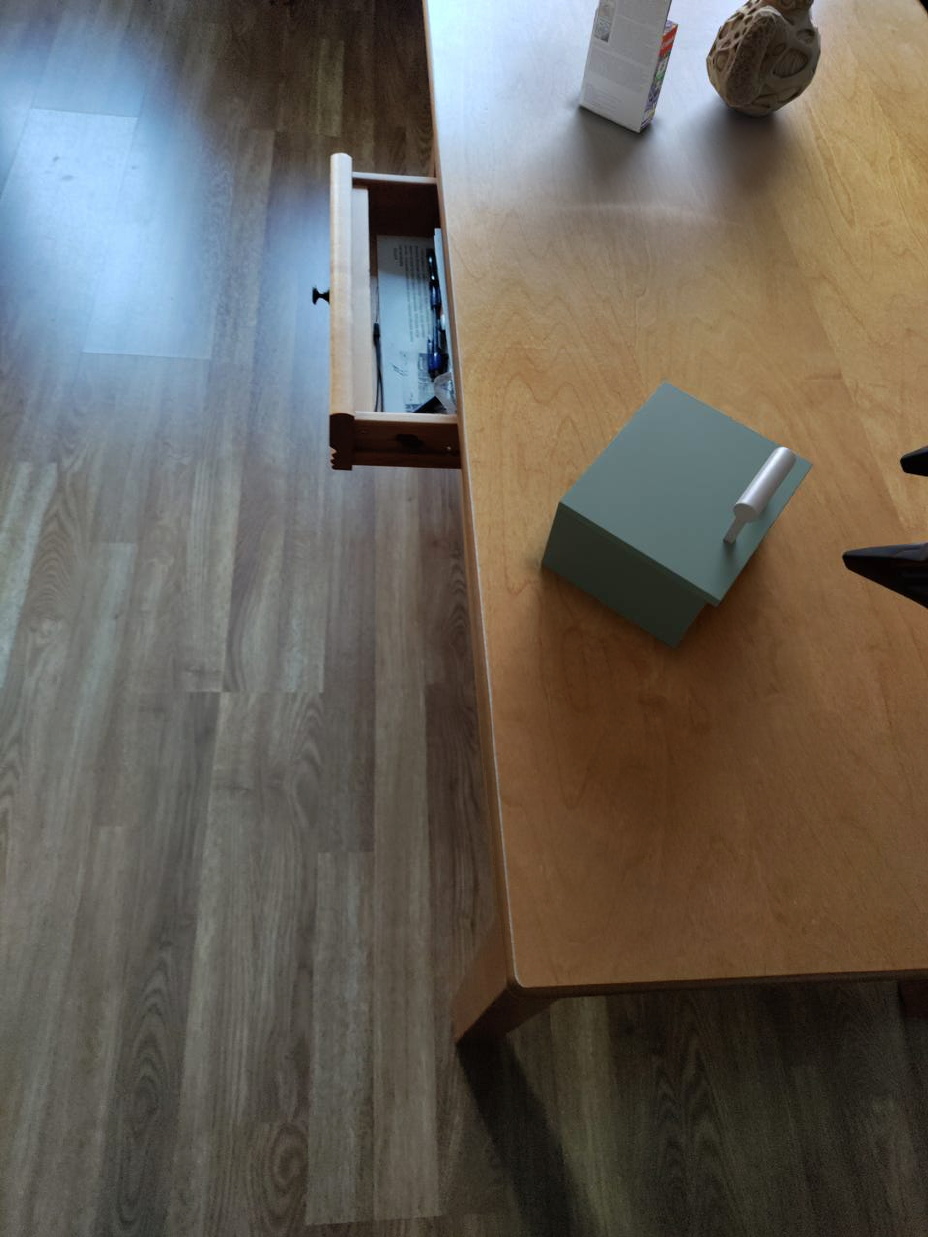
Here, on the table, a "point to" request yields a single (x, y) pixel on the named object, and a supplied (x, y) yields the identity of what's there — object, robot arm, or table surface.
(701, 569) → the bin lid
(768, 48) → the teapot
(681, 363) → the table surface
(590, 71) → the ink box
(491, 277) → the table surface
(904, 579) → the robot arm
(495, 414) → the table surface
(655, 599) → the bin
